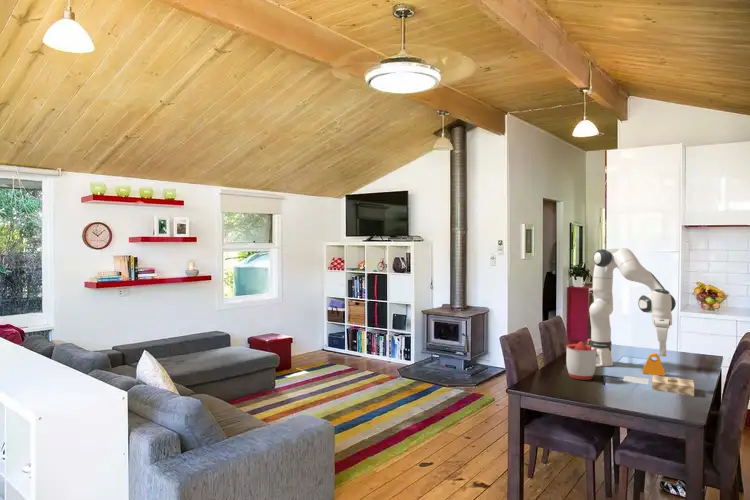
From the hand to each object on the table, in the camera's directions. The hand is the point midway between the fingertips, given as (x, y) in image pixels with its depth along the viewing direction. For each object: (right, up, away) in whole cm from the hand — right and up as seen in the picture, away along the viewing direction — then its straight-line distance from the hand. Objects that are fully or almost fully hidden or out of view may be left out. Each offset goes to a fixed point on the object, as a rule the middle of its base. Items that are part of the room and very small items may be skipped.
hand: (662, 347), depth 263 cm
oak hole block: (+3, -21, -4) cm, 21 cm away
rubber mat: (-7, -20, +12) cm, 25 cm away
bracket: (+10, -20, +26) cm, 34 cm away
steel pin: (0, -4, 0) cm, 4 cm away
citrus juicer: (-34, -20, +19) cm, 44 cm away
